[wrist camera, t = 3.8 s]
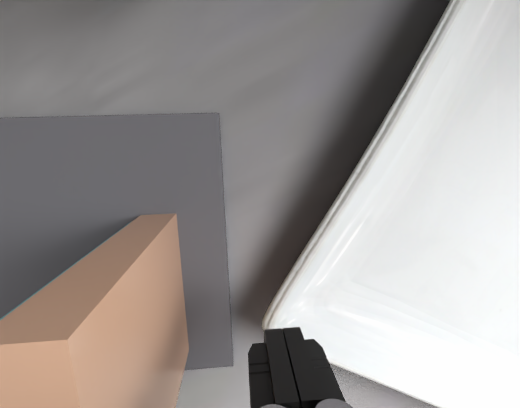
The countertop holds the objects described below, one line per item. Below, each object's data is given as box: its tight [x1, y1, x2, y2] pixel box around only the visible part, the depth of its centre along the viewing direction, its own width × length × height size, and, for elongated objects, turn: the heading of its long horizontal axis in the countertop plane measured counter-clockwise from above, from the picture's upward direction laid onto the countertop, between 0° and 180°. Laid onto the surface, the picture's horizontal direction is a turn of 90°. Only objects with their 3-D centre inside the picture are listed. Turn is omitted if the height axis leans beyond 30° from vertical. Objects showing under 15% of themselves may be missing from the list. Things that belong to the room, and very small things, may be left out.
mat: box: [0, 113, 233, 370], centre depth 17 cm, size 22×16×1 cm
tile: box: [0, 213, 189, 408], centre depth 12 cm, size 2×9×11 cm, turn 2°
